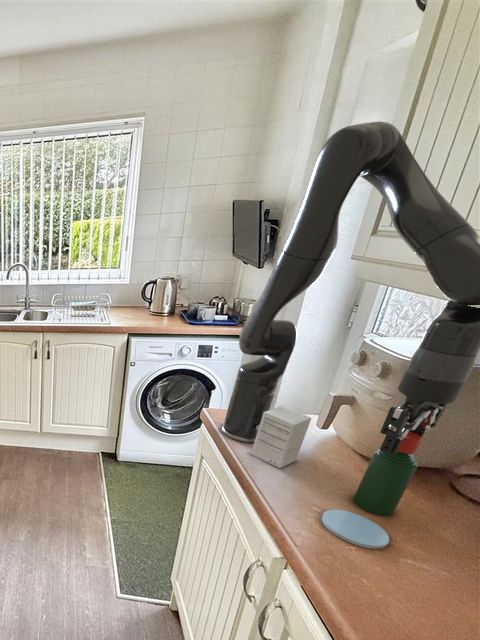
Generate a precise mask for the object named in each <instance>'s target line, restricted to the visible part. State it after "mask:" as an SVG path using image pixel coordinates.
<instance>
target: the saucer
mask: <svg viewBox="0 0 480 640" xmlns="http://www.w3.org/2000/svg"><path fill="white" fill-rule="evenodd" d="M321 522H322V524H323V526H324V527H325V528H326V529H327V530H328V531H329V532H330V533H332V534H333V535H334V536H336V537H337V538H340V539H341V540H343V541H345V542H347V543H350V544H352V545H355V546H359V547H361V548H366V549H374V550H380V549H384V548H386V547H387V546H388V545H389V543H390V537H389V534H388V533H387V531H386V530H384V529H383V528H382V527H381V526H380V525H379V524H377V523H375V522H374V521H373V520H371V519H369V518H367V517H364V516H363V515H360V514H357V513H354V512H351V511H349V510H348V511H347V510H343V509H328V510H326V511H324V512H323V513H322V515H321Z"/></svg>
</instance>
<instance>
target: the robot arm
mask: <svg viewBox="0 0 480 640" xmlns="http://www.w3.org/2000/svg"><path fill="white" fill-rule="evenodd" d="M359 177H360V178H362V179H363V180H365V181H366V182H367V183H369V184H370V185H371V186H373V187H374V188H375V190H377V191H378V193H379V194H380V195H381V196H382V198H383V200H384V202H385V204H386V206H387V209H388V213H389V217H390V219H391V222H392V225H393V227H394V229H395V231H396V232H397V234H398V236H400V238H401V239H402V240H403V242H405V243H406V245H407V246H408V247H409V248H410V250H412V251H413V253H414V254H415V255H416V256H417V257H418V258H419V259H420V260H421V261H422V262H423V264H424V267H425V268H426V270H427V272H428V274H429V275H430V277H431V278H432V281H433V283H434V284H435V286H436V287H437V289H439V291H440V292H441V293H442V294H443V295H444V297H446V298H447V299H448V300H447V302H446V304H445V306H444V307H443V310H442V311H441V313H440V314H438V315H436V317H434V318H433V320H432V321H431V322H430V323H429V325H428V327H427V329H426V330H425V332H424V335H423V336H422V338H421V341H420V343H419V345H418V347H417V349H416V350H415V352H414V353H413V355H412V356H411V358H410V361H409V363H408V364H407V366H406V369H405V371H404V374H403V376H402V377H401V380H400V382H399V384H398V386H397V391H398V392H399V393H401V394H402V395H404V397H405V399H404V401H402V402H401V403H400V404H399V405H398V406H394V405H392V406H391V407H389V410H388V412H387V415H386V417H385V419H384V422H383V425H382V427H381V429H380V434H382V435H385V437H384V439H383V441H382V443H381V445H380V447H379V450H380V451H382V452H384V453H386V454H389V455H395V454H396V453H397V451H398V449H399V447H400V445H401V443H402V441H403V439H404V437H405V436H406V435H407V433H408V432H409V431H410V432H413V433H415V434H418V435H419V436H421V437H422V438H423V437H424V435H425V433H427V432H429V431H430V429H431V428H434V427H436V426H437V424H438V422H439V420H440V419H441V417H442V415H443V413H444V412H445V410H446V408H447V406H448V405H449V404H453V403H454V402H456V400H457V398H458V396H459V395H460V393H461V391H462V389H463V388H464V385H465V384H466V381H467V379H468V378H469V376H470V374H471V372H472V371H473V368H474V366H475V363H476V359H477V357H478V354H479V353H480V308H476V307H471V306H468V305H480V243H479V242H478V240H479V235H478V233H477V231H476V229H475V228H474V226H472V225H471V224H470V223H469V222H468V221H467V220H466V219H465V218H464V217H463V215H462V214H461V213H460V212H459V211H458V210H456V208H455V207H454V206H453V205H452V204H451V203H450V202H449V201H448V200H447V199H446V198H445V197H444V195H442V194H441V192H440V191H439V190H438V189H437V188H436V187H435V185H434V184H433V183H432V181H431V180H430V179H429V177H428V176H427V175H426V173H425V171H424V170H423V168H422V167H421V165H420V164H419V162H418V161H417V159H416V158H415V157H414V155H413V153H412V151H411V150H410V147H409V146H408V143H407V142H406V140H405V138H404V137H403V135H402V134H401V132H400V131H399V129H398V128H397V127H396V126H395V125H394V124H393V123H390V122H388V121H381V120H380V121H370V122H363V123H362V122H361V123H357V124H351V125H348V126H345V127H343V128H340V129H339V130H337V131H335V132H334V133H333V134H332V135H330V136H329V137H328V139H327V140H326V141H325V143H324V144H323V145H322V147H321V149H320V151H319V152H318V155H317V157H316V160H315V162H314V166H313V169H312V172H311V175H310V179H309V182H308V185H307V188H306V191H305V194H304V197H303V200H302V202H301V205H300V207H299V209H298V212H297V214H296V216H295V218H294V221H293V223H292V225H291V228H290V230H289V232H288V235H287V237H286V239H285V241H284V243H283V245H282V246H281V249H280V251H279V254H278V256H277V258H276V260H275V262H274V266H273V268H272V269H271V273H270V275H269V277H268V280H267V281H266V284H265V286H264V288H263V289H262V290H263V291H262V293H261V294H260V297H259V298H258V300H257V302H256V304H255V306H254V307H253V309H252V311H251V312H250V314H249V316H248V318H247V319H246V321H245V323H244V325H243V327H242V329H241V332H240V335H239V338H238V347H239V349H240V351H241V353H243V354H245V355H247V356H255V357H257V356H258V358H257V359H255V360H252V361H249V362H246V363H243V364H241V365H240V366H239V368H238V371H237V374H236V378H235V380H234V381H235V382H234V384H233V389H232V391H231V396H230V398H229V403H228V407H227V411H226V414H225V417H224V421H223V424H222V427H221V432H222V433H223V435H225V436H226V437H228V438H230V439H231V440H232V439H233V440H235V441H239V442H243V443H254V442H255V439H256V435H257V432H258V429H259V426H260V423H261V419H262V416H263V413H264V412H266V411H269V410H271V407H272V404H273V401H274V397H275V395H276V391H277V388H278V385H279V381H280V380H281V378H282V376H283V375H284V374H285V372H286V369H287V367H288V364H289V362H290V359H291V357H292V354H293V352H294V349H295V346H296V343H297V339H298V330H297V327H296V324H295V323H294V322H292V321H290V320H285V319H275V318H276V317H277V316H278V315H279V313H280V312H281V311H282V309H284V308H285V307H286V306H287V305H288V304H289V303H291V302H292V301H293V300H294V299H296V298H297V297H298V296H300V295H301V294H303V293H304V292H305V291H307V290H308V289H309V288H311V287H312V286H313V285H315V283H317V282H318V280H319V279H320V278H321V277H322V275H323V274H324V272H325V270H326V268H327V267H328V265H329V263H330V261H331V259H332V257H333V255H334V253H335V251H336V248H337V246H338V245H337V244H338V239H339V220H340V219H339V218H340V214H341V210H342V207H343V205H344V203H345V202H346V198H347V197H348V195H349V193H350V191H351V189H352V187H353V186H354V185H355V182H356V181H357V179H358V178H359ZM449 300H451V301H449ZM259 356H260V357H259ZM394 430H396V431H394Z"/></svg>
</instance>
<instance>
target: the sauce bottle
mask: <svg viewBox="0 0 480 640" xmlns="http://www.w3.org/2000/svg"><path fill="white" fill-rule="evenodd" d="M367 465H368V466H367V468H366V470H365V472H364V473H363V476H362V478H361V481H360V483H359V484H358V487H357V489H356V491H355V493H354V496H353V497H352V500H353V502H354V504H355V505H356V506H357V507H359V508H361V509H362V510H364V511H366V512H369V513H371V514H373V515H378V516H382V517H390V516H392V515H393V514H395V513H394V512H395V511H396V509H397V507H398V505H399V503H400V501H401V499H402V497H403V496H404V494H405V492H406V490H407V488H408V486H409V485H410V482H411V480H412V479H413V477H414V475H415V473H416V471H417V469H418V467H419V464H418V461H417V460H416V459H415V457H414V455H413V454H408V453H402V452H399V451H397V453H396V454H395V455H389V454H386V453H384V452H382V451H380V449H377V450H376V451H375V452H374V453H373V455H372V457H371V458H370V461H369V463H368V464H367Z"/></svg>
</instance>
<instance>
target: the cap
mask: <svg viewBox="0 0 480 640" xmlns="http://www.w3.org/2000/svg"><path fill="white" fill-rule="evenodd" d="M394 431H396V429H394ZM422 439H423V437H421V436H419V435H418V434H415V433H413V432H410V431H409V432H408V433H407V435H406V436H405V437H404V439H403V441H402V443H401V445H400V447H399V449H398V451H399V452H402V453H408V454H411V455H413V454H415V453H416V452H417V450H418V448H419V445H420V444H421V441H422Z"/></svg>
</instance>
